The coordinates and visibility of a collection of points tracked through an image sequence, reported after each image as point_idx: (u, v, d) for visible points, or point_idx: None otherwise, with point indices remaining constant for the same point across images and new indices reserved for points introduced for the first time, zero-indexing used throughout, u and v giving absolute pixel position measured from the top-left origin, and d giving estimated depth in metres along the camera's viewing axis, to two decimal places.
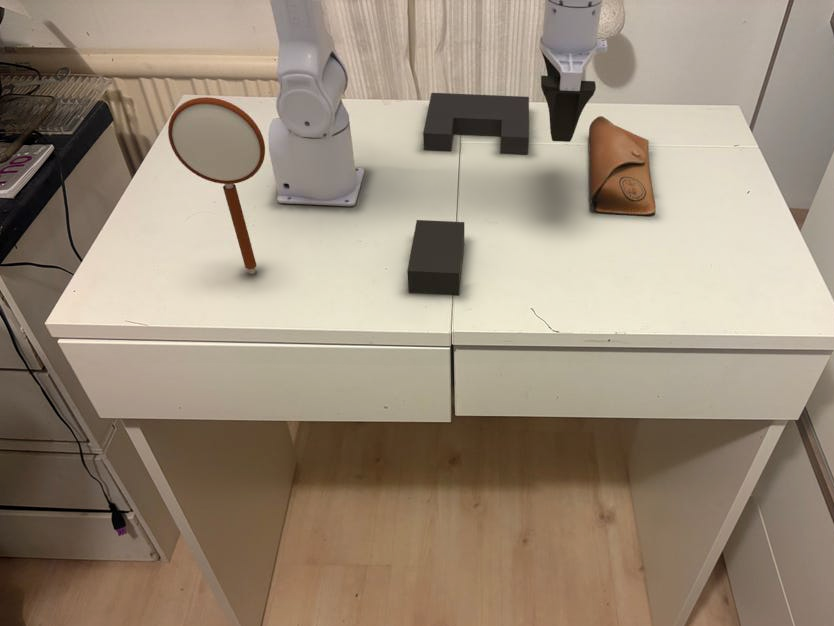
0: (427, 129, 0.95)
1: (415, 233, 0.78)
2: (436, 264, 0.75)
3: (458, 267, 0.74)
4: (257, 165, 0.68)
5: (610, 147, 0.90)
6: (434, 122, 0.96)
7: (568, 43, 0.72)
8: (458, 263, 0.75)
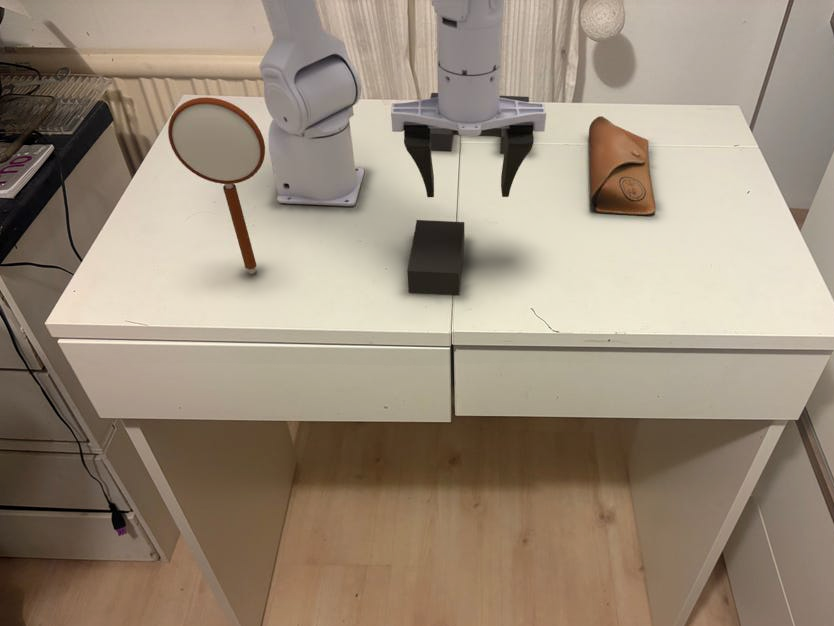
0: None
1: (415, 233, 0.78)
2: (436, 264, 0.75)
3: (458, 267, 0.74)
4: (257, 165, 0.68)
5: (610, 147, 0.90)
6: None
7: None
8: (458, 263, 0.75)
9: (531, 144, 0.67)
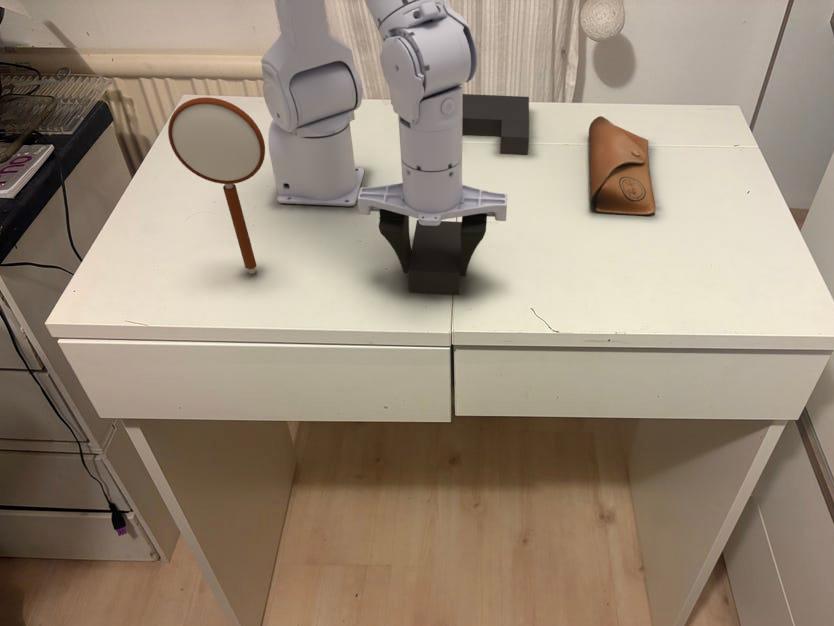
0: None
1: (415, 233, 0.78)
2: (436, 264, 0.75)
3: (458, 267, 0.74)
4: (257, 165, 0.68)
5: (610, 147, 0.90)
6: None
7: None
8: (458, 263, 0.75)
9: (483, 233, 0.69)
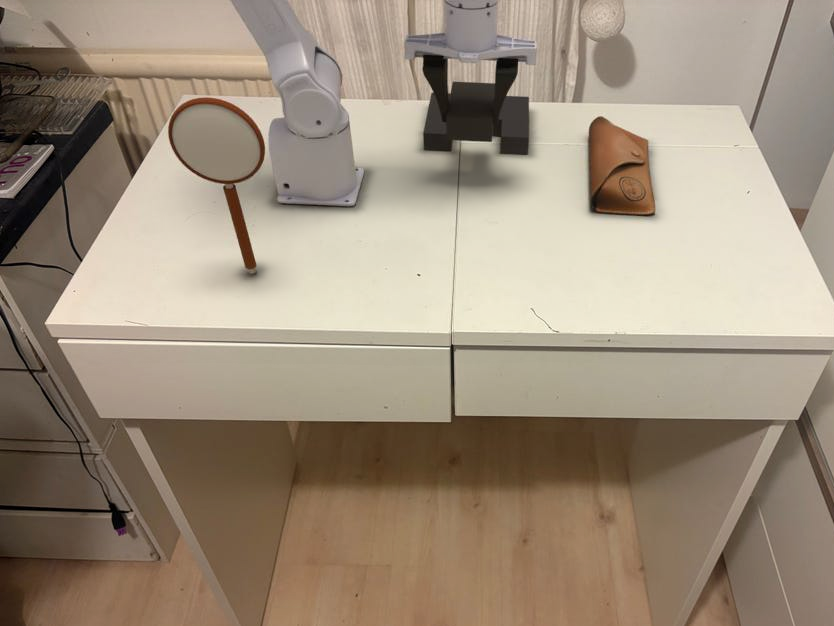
0: (427, 129, 0.95)
1: (452, 90, 0.87)
2: (472, 112, 0.83)
3: (491, 114, 0.83)
4: (257, 165, 0.68)
5: (610, 147, 0.90)
6: (434, 122, 0.96)
7: None
8: (491, 111, 0.83)
9: (515, 74, 0.78)
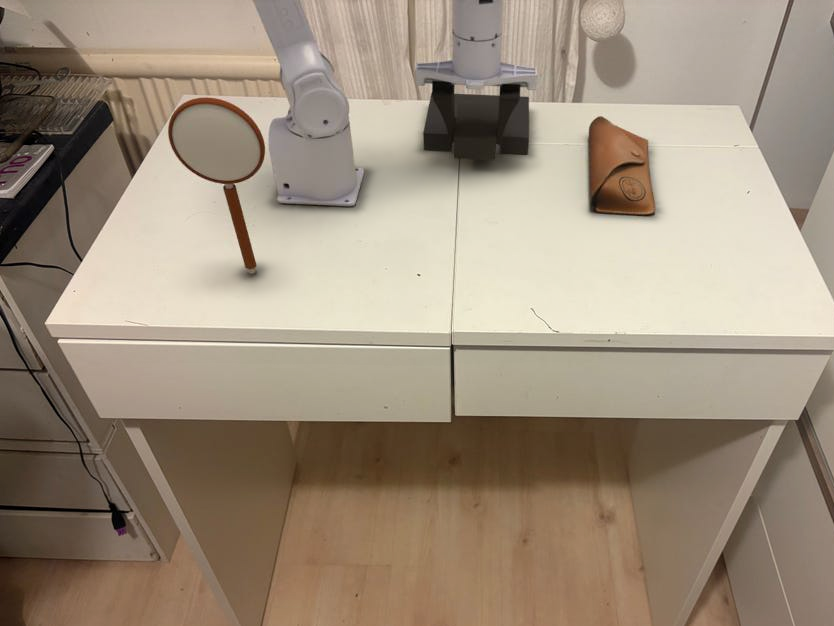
0: (427, 129, 0.95)
1: (458, 112, 0.93)
2: (477, 133, 0.90)
3: (495, 135, 0.90)
4: (257, 165, 0.68)
5: (610, 147, 0.90)
6: (434, 122, 0.96)
7: None
8: (495, 132, 0.90)
9: (517, 99, 0.85)
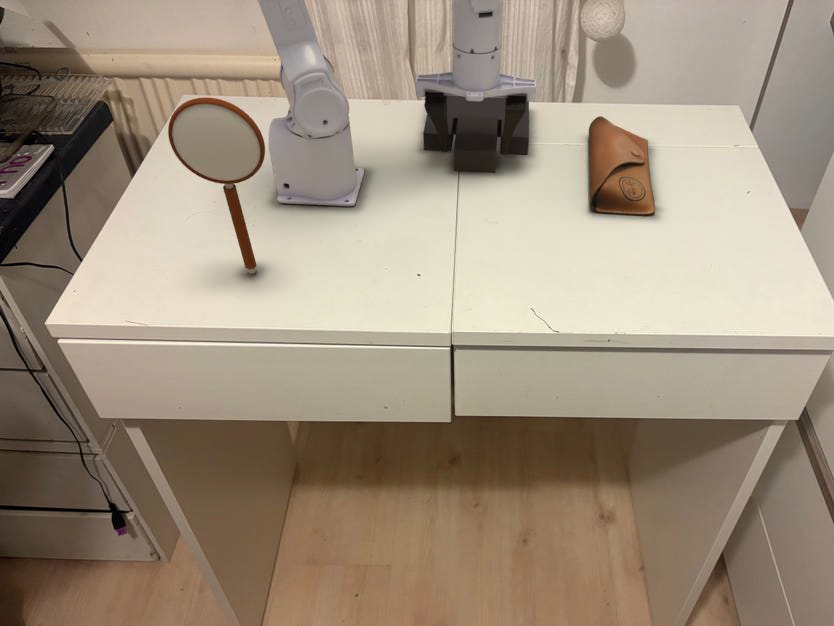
0: (427, 129, 0.95)
1: (458, 124, 0.95)
2: (477, 146, 0.91)
3: (495, 148, 0.91)
4: (257, 165, 0.68)
5: (610, 147, 0.90)
6: None
7: None
8: (494, 145, 0.91)
9: (523, 111, 0.86)
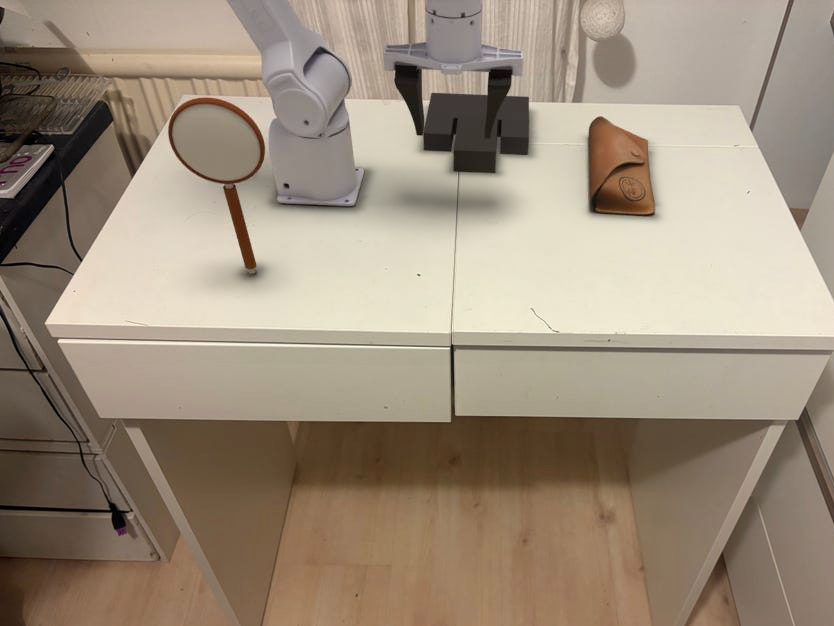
0: (427, 129, 0.95)
1: (458, 124, 0.95)
2: (476, 146, 0.91)
3: (495, 148, 0.91)
4: (257, 165, 0.68)
5: (610, 147, 0.90)
6: (434, 122, 0.96)
7: None
8: (494, 145, 0.91)
9: (508, 86, 0.74)
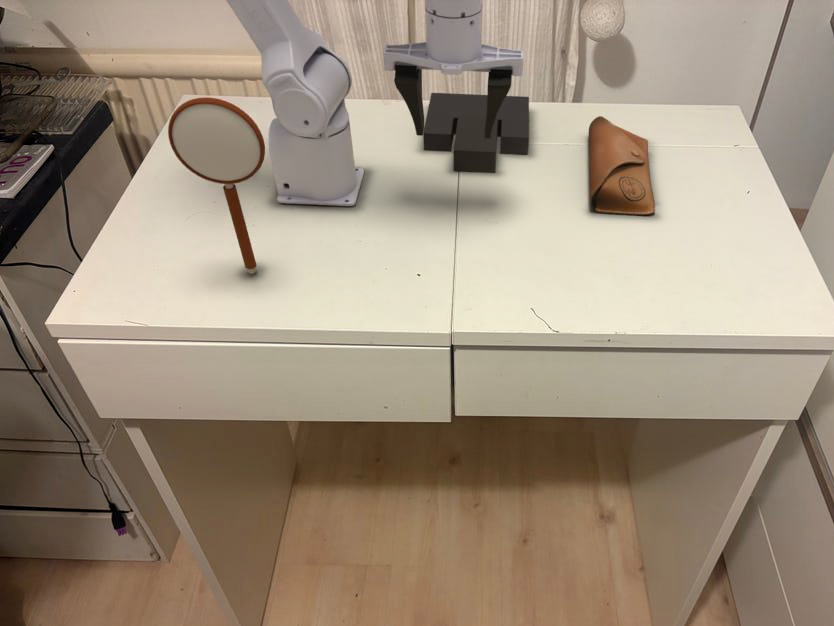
0: (427, 129, 0.95)
1: (458, 124, 0.95)
2: (476, 146, 0.91)
3: (495, 148, 0.91)
4: (257, 165, 0.68)
5: (610, 147, 0.90)
6: (434, 122, 0.96)
7: None
8: (494, 145, 0.91)
9: (508, 86, 0.74)
